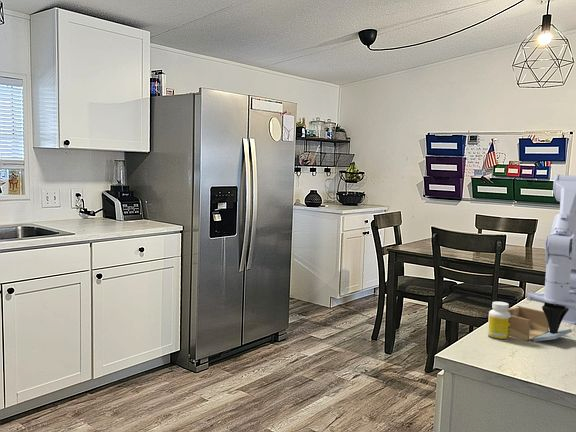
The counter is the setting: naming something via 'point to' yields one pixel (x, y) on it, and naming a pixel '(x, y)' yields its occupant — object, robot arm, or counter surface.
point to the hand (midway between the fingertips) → (553, 332)
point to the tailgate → (552, 335)
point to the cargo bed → (527, 323)
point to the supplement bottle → (499, 322)
